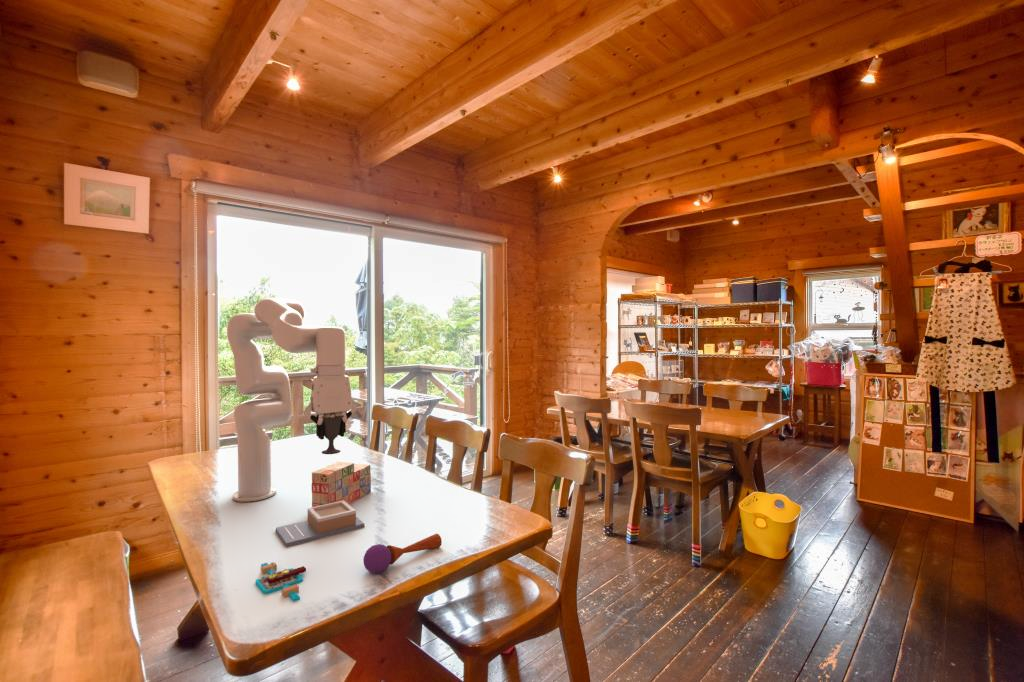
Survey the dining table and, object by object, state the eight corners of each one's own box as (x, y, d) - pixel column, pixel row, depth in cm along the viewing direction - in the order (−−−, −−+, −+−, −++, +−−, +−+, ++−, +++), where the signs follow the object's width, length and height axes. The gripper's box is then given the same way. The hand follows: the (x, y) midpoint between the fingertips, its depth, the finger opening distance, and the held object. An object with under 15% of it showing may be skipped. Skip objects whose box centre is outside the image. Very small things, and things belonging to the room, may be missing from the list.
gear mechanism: (288, 560, 114) (245, 574, 107) (288, 537, 114) (245, 550, 107) (323, 593, 100) (276, 611, 93) (323, 567, 99) (276, 583, 93)
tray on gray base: (275, 531, 129) (275, 513, 129) (349, 514, 141) (349, 497, 141) (286, 547, 120) (286, 528, 119) (364, 527, 132) (364, 509, 132)
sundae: (349, 450, 134) (349, 397, 134) (332, 456, 128) (333, 400, 127) (329, 448, 136) (330, 396, 136) (312, 453, 130) (313, 398, 130)
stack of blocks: (355, 490, 163) (355, 454, 163) (371, 491, 161) (371, 455, 161) (311, 512, 143) (311, 471, 143) (328, 515, 141) (328, 473, 141)
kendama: (446, 535, 118) (374, 556, 103) (442, 557, 118) (370, 582, 104) (432, 523, 122) (360, 543, 107) (428, 545, 123) (356, 567, 108)
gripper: (301, 374, 123) (302, 444, 124) (365, 370, 134) (366, 435, 134) (294, 372, 129) (294, 439, 130) (356, 369, 140) (356, 431, 140)
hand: (331, 436), depth 132 cm, fingers closed on sundae, 4 cm apart
